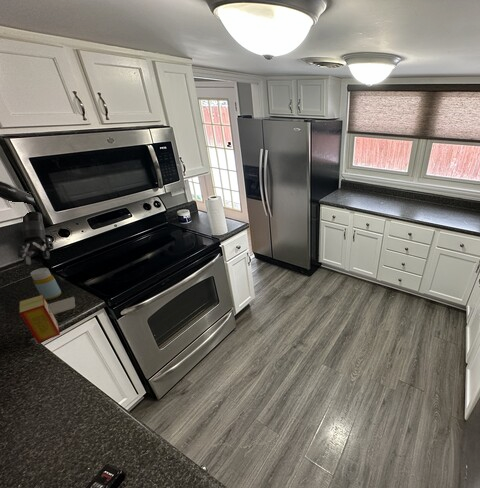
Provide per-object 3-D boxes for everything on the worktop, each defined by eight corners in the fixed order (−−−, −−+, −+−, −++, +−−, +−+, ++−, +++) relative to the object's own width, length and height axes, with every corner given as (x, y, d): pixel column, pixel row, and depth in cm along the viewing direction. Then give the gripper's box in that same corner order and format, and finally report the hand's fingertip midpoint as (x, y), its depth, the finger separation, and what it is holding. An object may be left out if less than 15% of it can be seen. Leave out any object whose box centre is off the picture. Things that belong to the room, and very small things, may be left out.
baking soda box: (60, 334, 110) (43, 304, 103) (38, 343, 106) (19, 312, 99) (58, 322, 116) (42, 293, 109) (37, 330, 112) (19, 300, 105)
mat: (40, 319, 118) (39, 318, 118) (40, 307, 125) (40, 306, 125) (75, 307, 125) (75, 307, 125) (74, 297, 133) (74, 296, 132)
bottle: (64, 294, 134) (52, 269, 127) (47, 302, 128) (33, 276, 122) (57, 290, 137) (45, 266, 130) (40, 298, 131) (25, 272, 124)
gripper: (10, 234, 127) (13, 265, 123) (40, 224, 128) (44, 255, 125) (27, 238, 134) (30, 268, 130) (55, 229, 135) (59, 258, 132)
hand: (37, 261), depth 127 cm, fingers open, 8 cm apart
